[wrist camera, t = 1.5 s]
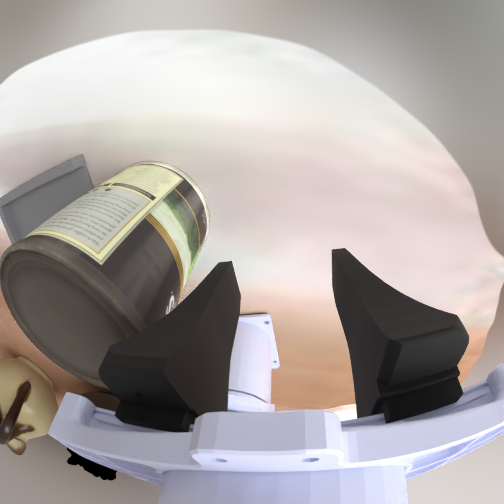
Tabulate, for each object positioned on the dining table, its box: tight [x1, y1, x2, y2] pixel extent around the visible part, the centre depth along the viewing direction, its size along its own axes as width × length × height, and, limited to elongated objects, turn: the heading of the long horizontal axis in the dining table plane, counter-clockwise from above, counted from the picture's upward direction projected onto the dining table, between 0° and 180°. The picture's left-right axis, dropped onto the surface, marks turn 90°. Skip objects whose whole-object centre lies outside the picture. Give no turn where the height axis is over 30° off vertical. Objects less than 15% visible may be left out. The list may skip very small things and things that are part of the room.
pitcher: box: [0, 356, 58, 455], centre depth 36 cm, size 22×24×25 cm
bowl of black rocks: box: [67, 392, 120, 480], centre depth 37 cm, size 20×20×19 cm
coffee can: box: [0, 161, 209, 388], centre depth 17 cm, size 10×10×14 cm
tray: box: [0, 154, 93, 245], centre depth 24 cm, size 15×16×2 cm
